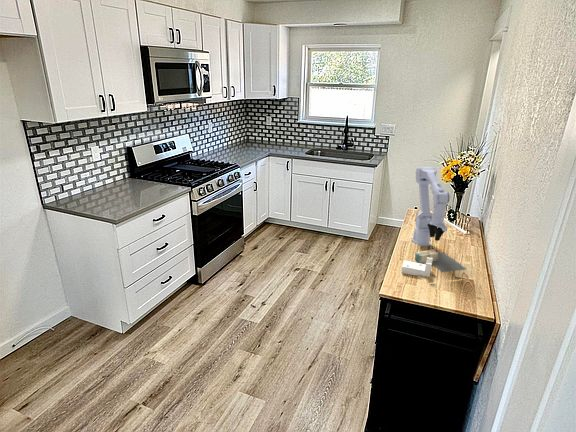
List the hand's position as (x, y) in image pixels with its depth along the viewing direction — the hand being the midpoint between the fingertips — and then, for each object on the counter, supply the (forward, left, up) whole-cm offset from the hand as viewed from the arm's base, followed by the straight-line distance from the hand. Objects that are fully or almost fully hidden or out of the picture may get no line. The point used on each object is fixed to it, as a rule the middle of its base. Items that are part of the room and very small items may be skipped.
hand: (434, 238), depth 196 cm
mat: (+9, 0, -9) cm, 13 cm away
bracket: (+15, -19, -10) cm, 26 cm away
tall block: (+6, -3, -6) cm, 9 cm away
